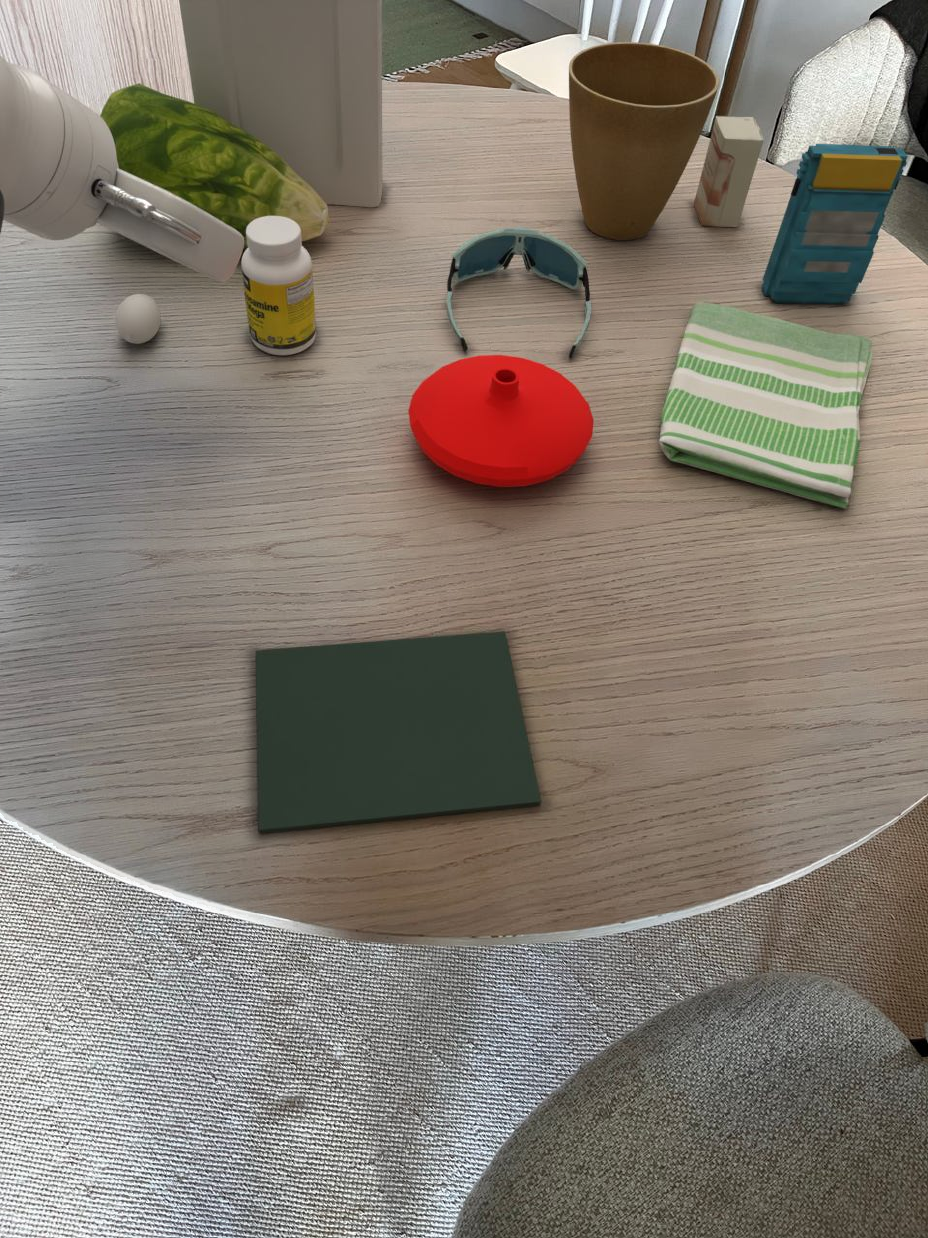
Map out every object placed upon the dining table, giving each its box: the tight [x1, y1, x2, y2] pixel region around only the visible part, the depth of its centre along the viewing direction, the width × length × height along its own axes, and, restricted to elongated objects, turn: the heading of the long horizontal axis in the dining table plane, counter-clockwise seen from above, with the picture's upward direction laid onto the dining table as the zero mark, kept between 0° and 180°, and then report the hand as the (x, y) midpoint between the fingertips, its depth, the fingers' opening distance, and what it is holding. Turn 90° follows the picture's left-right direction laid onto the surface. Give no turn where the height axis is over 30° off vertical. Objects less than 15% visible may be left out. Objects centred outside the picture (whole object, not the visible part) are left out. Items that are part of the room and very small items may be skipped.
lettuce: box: [99, 83, 330, 250], centre depth 99 cm, size 14×23×13 cm, turn 83°
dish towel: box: [658, 302, 874, 510], centre depth 90 cm, size 18×23×3 cm
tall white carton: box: [178, 0, 384, 208], centre depth 102 cm, size 19×15×28 cm
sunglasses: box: [445, 226, 592, 359], centre depth 96 cm, size 14×15×5 cm
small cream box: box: [693, 115, 765, 228], centre depth 108 cm, size 5×4×10 cm
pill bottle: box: [240, 216, 317, 356], centre depth 89 cm, size 6×6×11 cm
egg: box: [115, 293, 162, 345], centre depth 90 cm, size 4×6×4 cm, turn 176°
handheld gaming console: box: [761, 143, 909, 305], centre depth 97 cm, size 10×4×15 cm, turn 93°
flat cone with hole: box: [407, 354, 595, 488], centre depth 83 cm, size 16×16×7 cm
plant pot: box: [568, 41, 720, 241], centre depth 103 cm, size 15×15×16 cm
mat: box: [255, 630, 542, 834], centre depth 67 cm, size 18×14×1 cm
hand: (180, 238), depth 76 cm, fingers open, 8 cm apart
